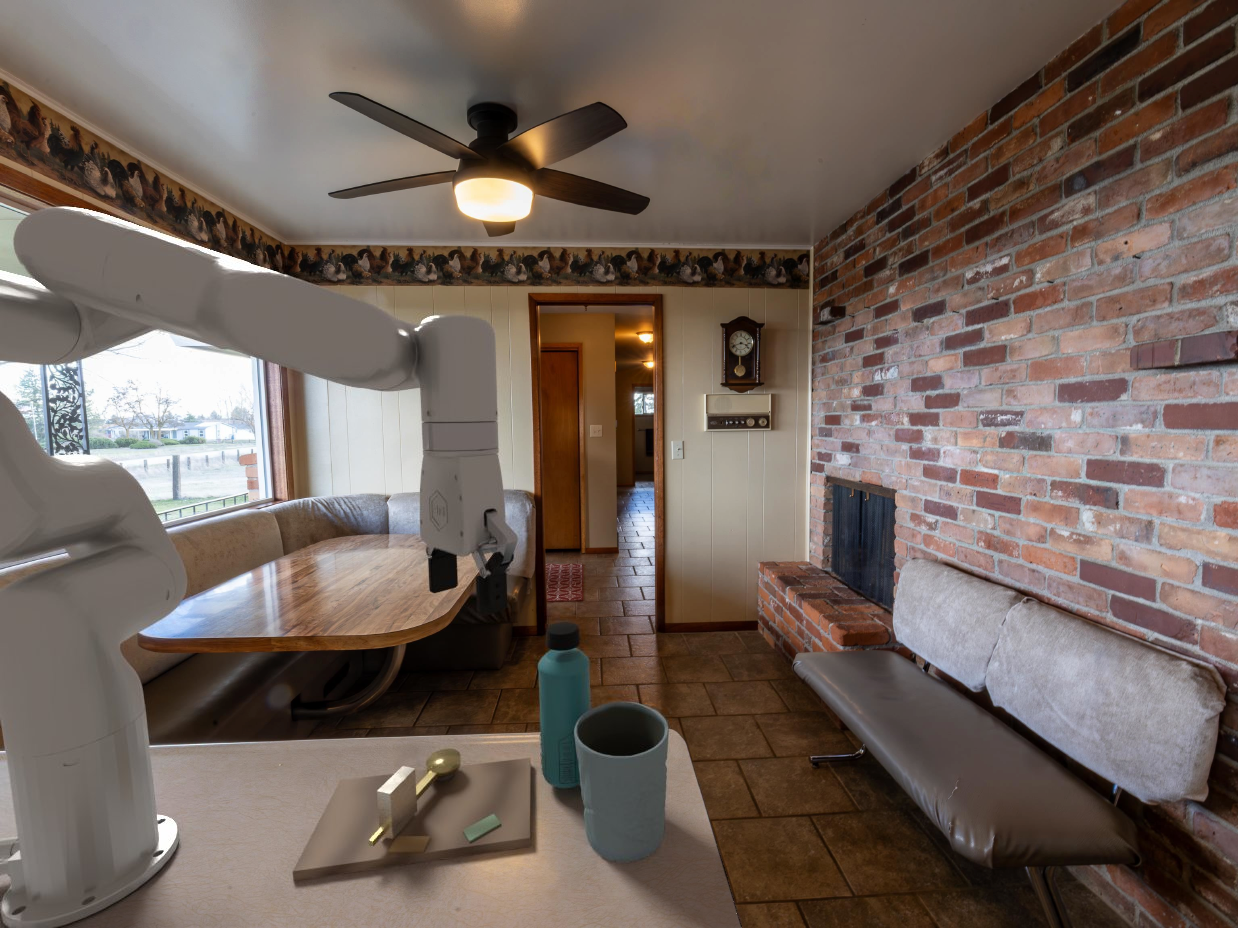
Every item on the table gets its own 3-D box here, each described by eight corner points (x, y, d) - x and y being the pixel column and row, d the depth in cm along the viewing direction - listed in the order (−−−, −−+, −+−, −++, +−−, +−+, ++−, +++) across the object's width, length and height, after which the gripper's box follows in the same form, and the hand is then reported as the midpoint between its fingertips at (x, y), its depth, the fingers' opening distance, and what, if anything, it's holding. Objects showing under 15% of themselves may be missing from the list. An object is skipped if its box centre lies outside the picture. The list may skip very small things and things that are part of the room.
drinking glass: (675, 866, 52) (675, 754, 51) (574, 872, 52) (572, 759, 51) (662, 793, 63) (661, 698, 61) (577, 797, 62) (575, 701, 61)
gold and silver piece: (439, 759, 67) (437, 721, 67) (467, 764, 66) (465, 726, 66) (355, 849, 53) (352, 803, 53) (388, 858, 52) (385, 811, 52)
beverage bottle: (586, 804, 61) (582, 640, 59) (532, 797, 62) (527, 635, 60) (599, 767, 67) (596, 617, 65) (550, 761, 69) (546, 614, 67)
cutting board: (293, 880, 52) (291, 861, 51) (340, 787, 64) (339, 772, 64) (530, 846, 55) (529, 828, 55) (530, 764, 68) (530, 750, 68)
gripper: (388, 438, 57) (396, 590, 59) (473, 445, 45) (480, 634, 47) (451, 436, 63) (457, 575, 64) (542, 441, 51) (545, 611, 53)
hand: (466, 600), depth 56 cm, fingers open, 9 cm apart
